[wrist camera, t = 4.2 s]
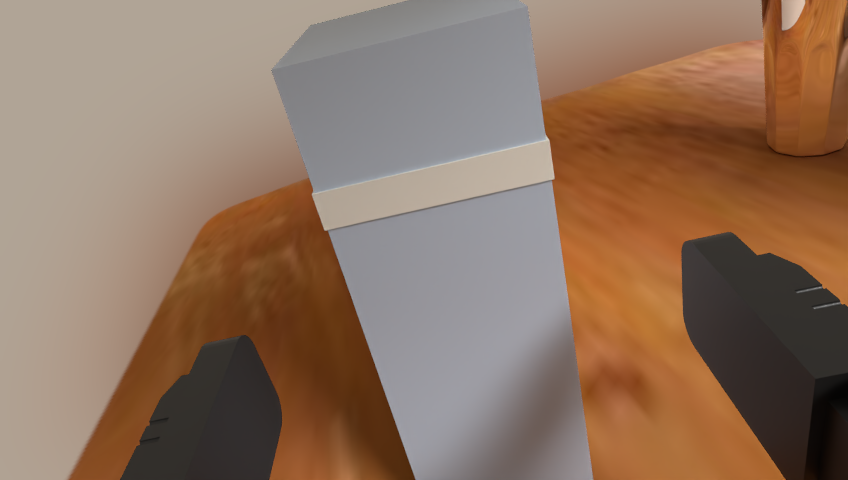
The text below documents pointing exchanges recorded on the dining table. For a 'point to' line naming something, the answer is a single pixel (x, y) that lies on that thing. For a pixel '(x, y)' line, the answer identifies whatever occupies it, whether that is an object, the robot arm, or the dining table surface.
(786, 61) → the milkshake
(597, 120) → the dining table surface
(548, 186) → the tall grey box
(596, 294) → the dining table surface
